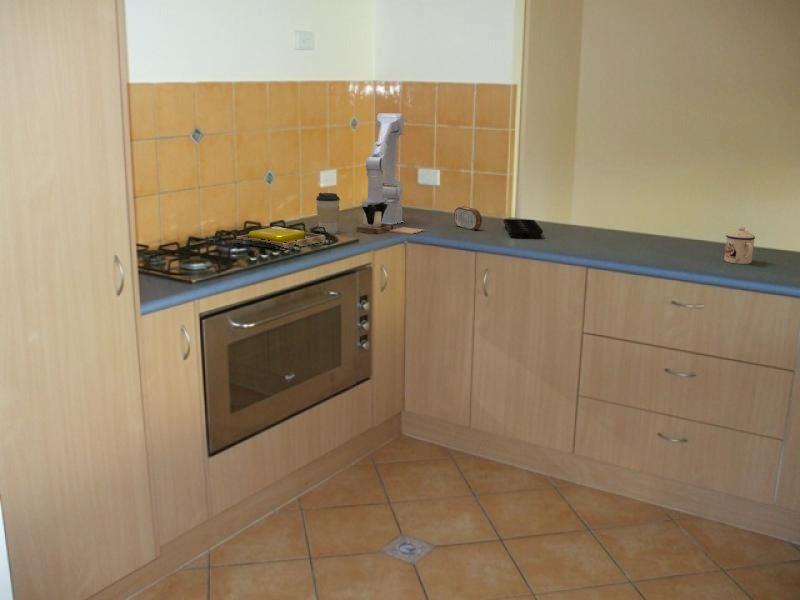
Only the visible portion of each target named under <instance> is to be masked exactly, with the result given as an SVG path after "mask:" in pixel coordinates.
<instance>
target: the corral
mask: <svg viewBox="0 0 800 600" xmlns="http://www.w3.org/2000/svg"><path fill="white" fill-rule="evenodd" d="M304 232H305V231H304ZM305 235H306V236H310V237H311V238H306V239H301V240H297V241H292V242H287V243H281V242H275V241H268V240H261V239H255V238H248V237H249V233H248V234H247V233H246V234H242V235H237V236H236V240H237V239H243V240H252V241H261V242H266V243H271V244H275V245H278V246H281V247H284V248H289V247H292V246H294V245H295V244H296V245H299V246H306V247H309V246H308V245H310V246H313V245H312V244H315V243H319V242H322V241H325V242H326V234H321V233H312V232H305ZM319 244H320V243H319ZM315 245H316V244H315Z"/></svg>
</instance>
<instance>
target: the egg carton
mask: <svg viewBox="0 0 800 600" xmlns="http://www.w3.org/2000/svg"><path fill="white" fill-rule="evenodd" d="M503 223H504V228H505V230H506V231H507V230H508V231H507V233H508V235H509V238H510V239H514V240H515V239H517V240H518V239H519V240H520V239H529V240H541V239H542V234H543V233H544V231H543V229H542V228H541V227H540V225H539V224H538V223H537V222H536V220H534V219H514V218H513V219H512V218H511V219H508V218H505V219H503Z"/></svg>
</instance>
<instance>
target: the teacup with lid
mask: <svg viewBox="0 0 800 600" xmlns="http://www.w3.org/2000/svg"><path fill="white" fill-rule="evenodd" d="M725 236H726V241H725V249H724V256H723V257H724V258H723V259H724V261H725V262H727V263H729V264H735V265H736V264H738V265H748V264H751V263H752V261H753V260H752V259H753V253H754V246H755V239H756V236H755V234H752V233H750V232H749V231H747V230H746V229H745V227H743V226H739V227H738V228H737V229H735V230H733V231H731V232H728V233H726V235H725Z"/></svg>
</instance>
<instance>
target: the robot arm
mask: <svg viewBox="0 0 800 600" xmlns="http://www.w3.org/2000/svg"><path fill="white" fill-rule="evenodd" d="M404 124H405V119H404V115H403V114H402V113H401V112H400V113H389V112H388V113H387V112H386V113H385V112H384V113H383V112H379V113H378V114H377V116H376V126H377V129H378V135H377V141H375V142H374V143H373V145H372V148H371V151H370V155H369V156H368V157H367V158H366V161H365V168H366V176H367V199H365V200H363V201H361V206H362V210H363V212H364V213H365V214H366V218H367V222H368V224H371V225H373V223H374V215H375V211H381V224H382V225H390V226H393V225H398V224H402V223H401V222H403V223H404V222H405V221H403V205H402V203H401V202H400V201H401V200H402V198H403V183H402V182H401V180H399V178H398V177H397V162H398V160H397V159H398V148H399V147H398V146H399V145H398V144H399V137H400V136H402V135H403V132H404ZM397 223H398V224H397ZM368 224H367V225H368Z"/></svg>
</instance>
